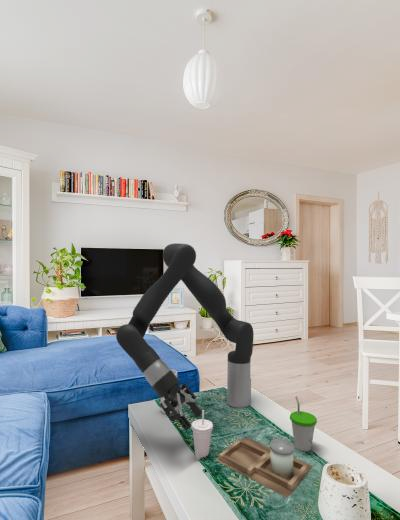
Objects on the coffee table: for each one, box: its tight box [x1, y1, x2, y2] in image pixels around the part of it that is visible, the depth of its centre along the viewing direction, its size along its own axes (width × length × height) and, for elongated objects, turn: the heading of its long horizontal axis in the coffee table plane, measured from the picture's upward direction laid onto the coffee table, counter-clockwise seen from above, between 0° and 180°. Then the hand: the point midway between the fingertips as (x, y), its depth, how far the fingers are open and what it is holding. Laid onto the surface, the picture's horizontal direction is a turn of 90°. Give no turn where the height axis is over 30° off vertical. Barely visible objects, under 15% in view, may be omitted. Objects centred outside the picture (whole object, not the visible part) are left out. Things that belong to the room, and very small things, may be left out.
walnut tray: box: [215, 436, 314, 499], centre depth 91 cm, size 16×22×3 cm
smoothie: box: [190, 409, 214, 461], centre depth 96 cm, size 6×6×14 cm
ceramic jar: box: [269, 438, 295, 479], centre depth 88 cm, size 6×6×7 cm
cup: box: [289, 395, 318, 453], centre depth 99 cm, size 8×8×15 cm
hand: (194, 421), depth 96 cm, fingers open, 8 cm apart
